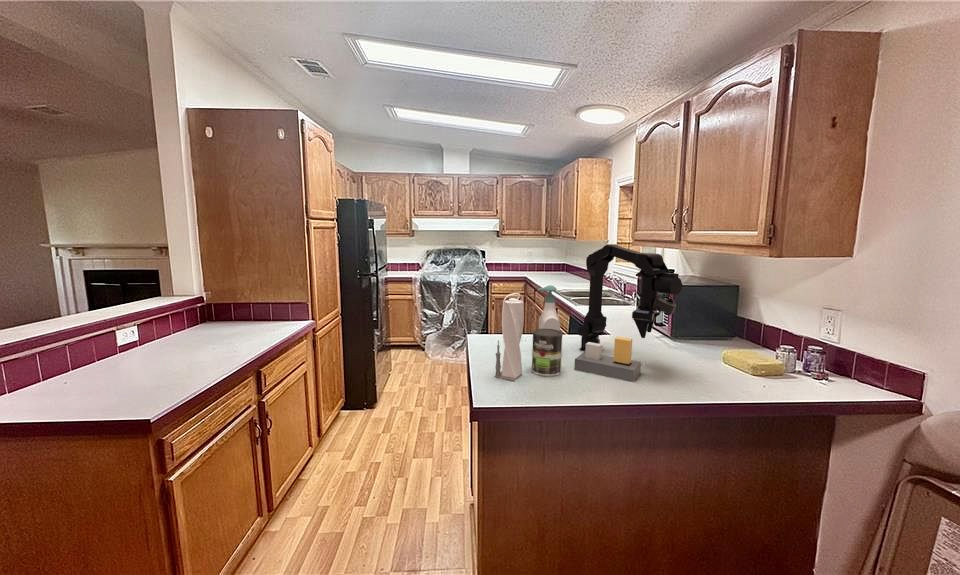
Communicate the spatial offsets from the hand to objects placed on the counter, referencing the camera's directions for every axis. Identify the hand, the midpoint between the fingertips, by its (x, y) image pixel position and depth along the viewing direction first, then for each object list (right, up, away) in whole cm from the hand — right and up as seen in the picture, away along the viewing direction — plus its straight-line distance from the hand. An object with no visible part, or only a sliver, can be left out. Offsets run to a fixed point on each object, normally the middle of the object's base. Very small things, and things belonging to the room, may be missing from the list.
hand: (646, 335), depth 136 cm
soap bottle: (-31, -10, +22) cm, 39 cm away
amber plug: (-9, -10, -2) cm, 13 cm away
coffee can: (-34, -13, +1) cm, 37 cm away
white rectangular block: (-17, -12, +4) cm, 22 cm away
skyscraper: (-47, -14, -3) cm, 49 cm away
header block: (-13, -13, +1) cm, 18 cm away
